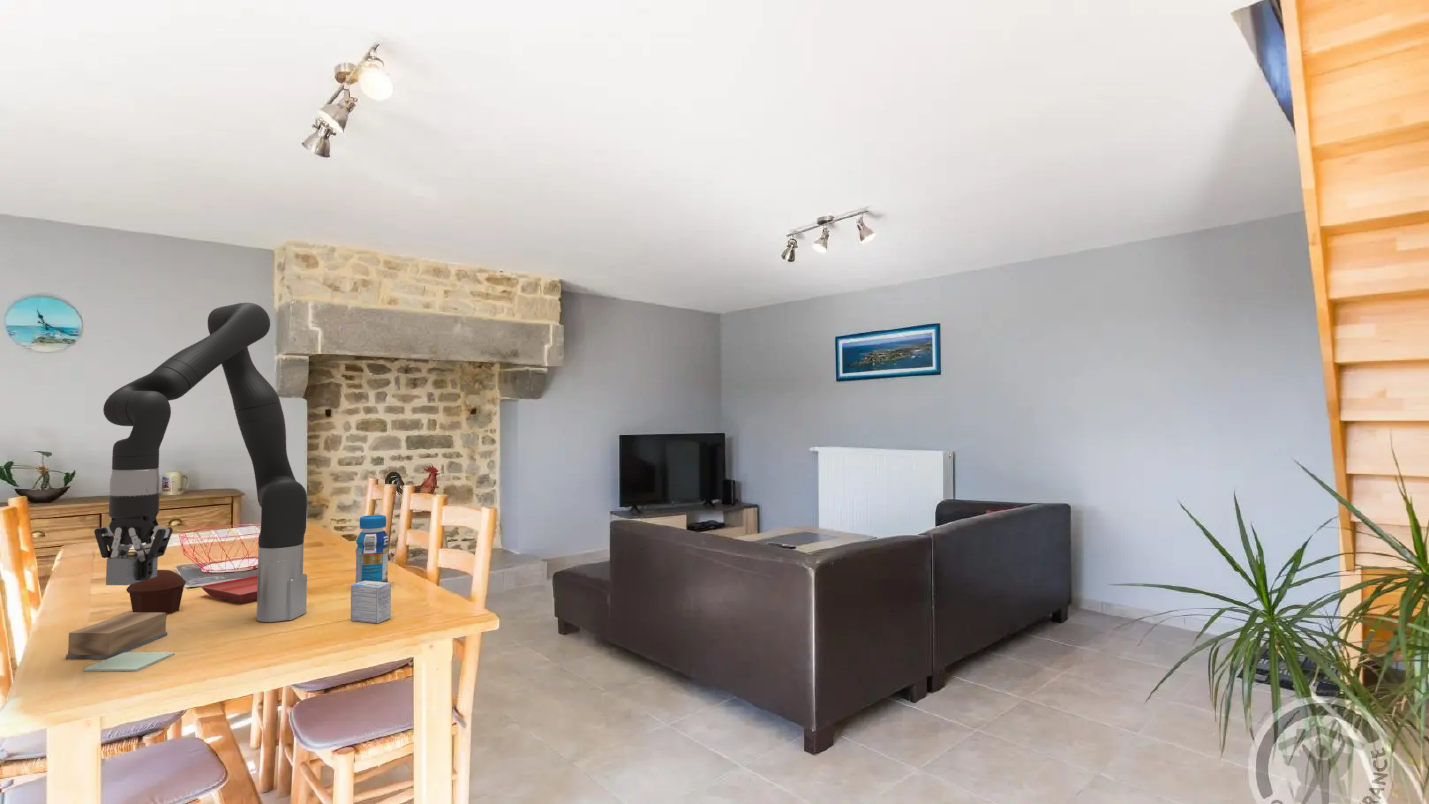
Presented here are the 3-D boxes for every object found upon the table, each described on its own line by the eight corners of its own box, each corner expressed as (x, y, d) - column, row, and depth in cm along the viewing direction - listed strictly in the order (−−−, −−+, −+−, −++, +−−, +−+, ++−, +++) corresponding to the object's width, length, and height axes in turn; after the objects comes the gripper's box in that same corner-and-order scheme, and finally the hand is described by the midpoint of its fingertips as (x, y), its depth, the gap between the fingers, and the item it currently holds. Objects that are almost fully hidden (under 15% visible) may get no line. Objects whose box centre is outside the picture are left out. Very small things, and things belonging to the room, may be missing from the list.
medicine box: (391, 618, 161) (392, 582, 161) (377, 624, 157) (378, 586, 157) (364, 615, 163) (365, 580, 164) (349, 621, 159) (350, 584, 159)
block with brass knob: (157, 576, 135) (158, 548, 135) (126, 585, 128) (127, 555, 128) (137, 576, 135) (138, 548, 135) (105, 585, 128) (106, 555, 128)
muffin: (194, 610, 166) (195, 570, 166) (138, 622, 157) (139, 579, 157) (172, 603, 172) (173, 564, 172) (117, 614, 163) (118, 572, 163)
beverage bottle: (347, 589, 187) (349, 517, 188) (373, 582, 195) (375, 513, 196) (369, 592, 184) (370, 519, 184) (395, 585, 192) (396, 515, 192)
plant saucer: (269, 583, 194) (269, 571, 195) (308, 591, 187) (309, 579, 187) (198, 598, 178) (199, 585, 178) (239, 607, 170) (239, 594, 170)
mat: (174, 654, 136) (174, 652, 136) (136, 671, 127) (136, 669, 127) (124, 654, 136) (124, 652, 136) (83, 671, 127) (83, 668, 127)
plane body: (167, 635, 148) (167, 612, 148) (108, 658, 133) (109, 633, 133) (128, 634, 148) (129, 611, 148) (66, 658, 133) (66, 633, 133)
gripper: (186, 490, 136) (183, 575, 136) (115, 489, 136) (113, 574, 136) (155, 494, 129) (152, 585, 128) (80, 493, 128) (77, 584, 128)
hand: (132, 579), depth 132 cm, fingers closed on block with brass knob, 4 cm apart
